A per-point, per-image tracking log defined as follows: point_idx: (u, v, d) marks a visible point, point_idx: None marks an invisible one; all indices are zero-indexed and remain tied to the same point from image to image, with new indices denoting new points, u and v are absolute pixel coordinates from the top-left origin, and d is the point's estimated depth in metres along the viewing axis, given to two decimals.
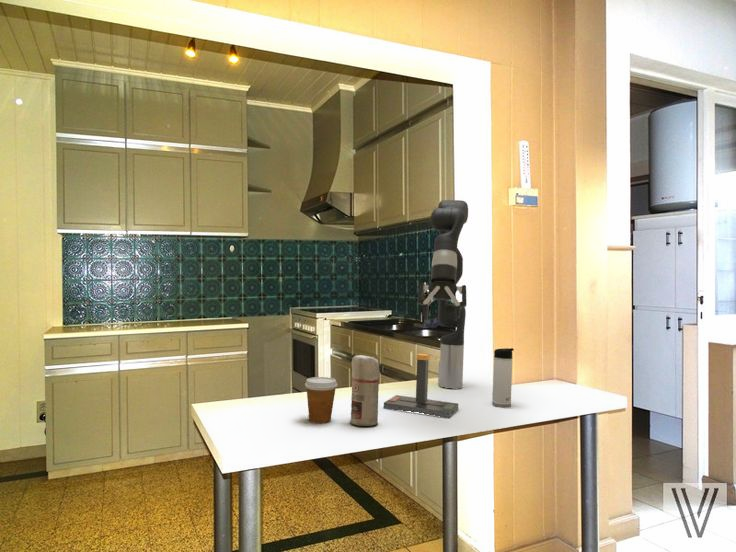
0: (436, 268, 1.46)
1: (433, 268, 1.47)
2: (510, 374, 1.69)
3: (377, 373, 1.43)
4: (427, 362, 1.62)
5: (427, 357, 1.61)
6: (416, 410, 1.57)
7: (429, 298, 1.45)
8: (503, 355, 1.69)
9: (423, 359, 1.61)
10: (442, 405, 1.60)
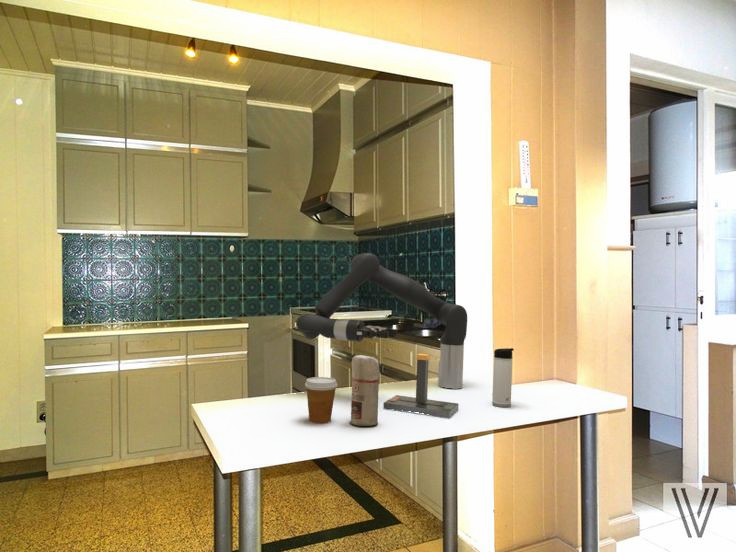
0: None
1: None
2: (510, 374, 1.69)
3: (377, 373, 1.43)
4: (427, 362, 1.62)
5: (427, 357, 1.61)
6: (416, 410, 1.57)
7: None
8: (503, 355, 1.69)
9: (423, 359, 1.61)
10: (442, 405, 1.60)
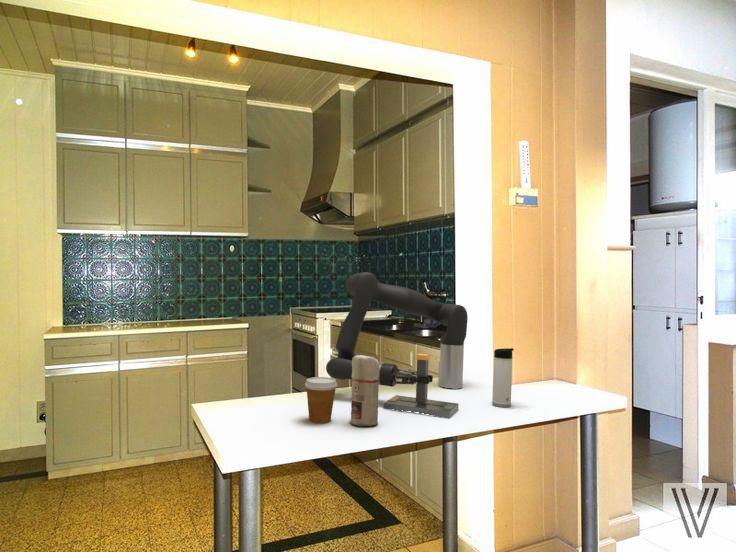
0: None
1: None
2: (510, 374, 1.69)
3: (377, 373, 1.43)
4: (427, 362, 1.62)
5: (427, 357, 1.61)
6: (416, 410, 1.57)
7: None
8: (503, 355, 1.69)
9: (423, 359, 1.61)
10: (442, 405, 1.60)
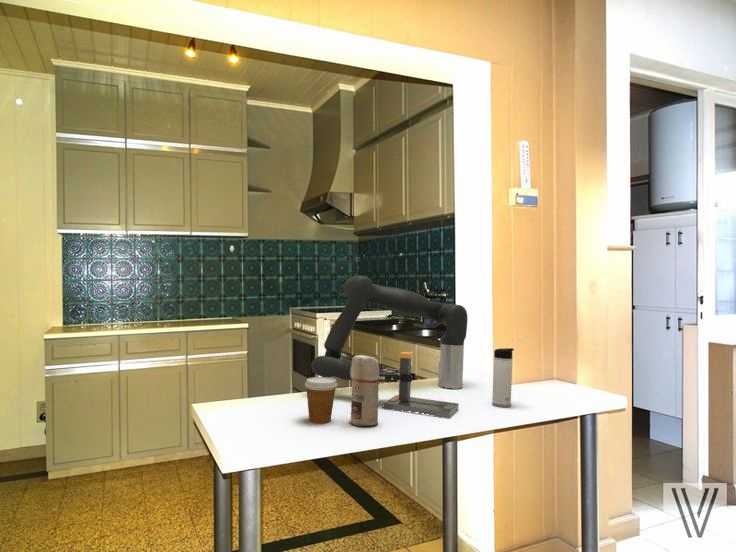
0: None
1: None
2: (510, 374, 1.69)
3: (377, 373, 1.43)
4: (410, 360, 1.65)
5: (410, 355, 1.64)
6: (416, 410, 1.57)
7: None
8: (503, 355, 1.69)
9: (406, 357, 1.63)
10: (442, 405, 1.60)
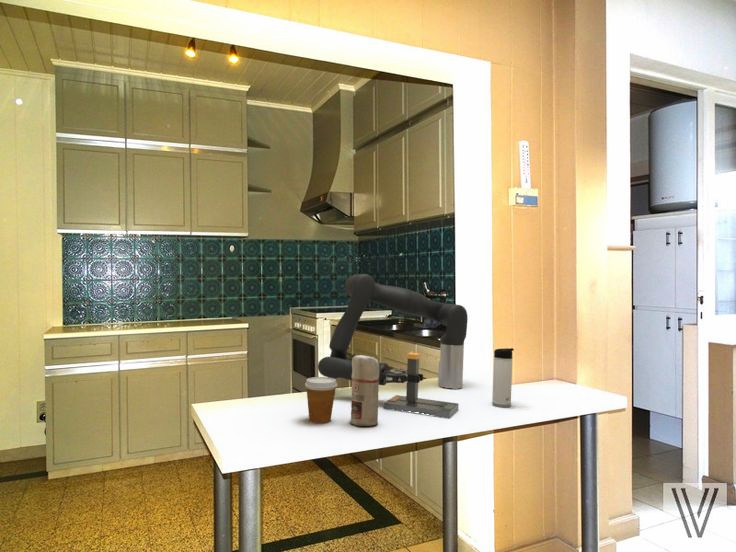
0: None
1: None
2: (510, 374, 1.69)
3: (377, 373, 1.43)
4: (417, 361, 1.64)
5: (417, 356, 1.63)
6: (416, 410, 1.57)
7: None
8: (503, 355, 1.69)
9: (413, 358, 1.62)
10: (442, 405, 1.60)
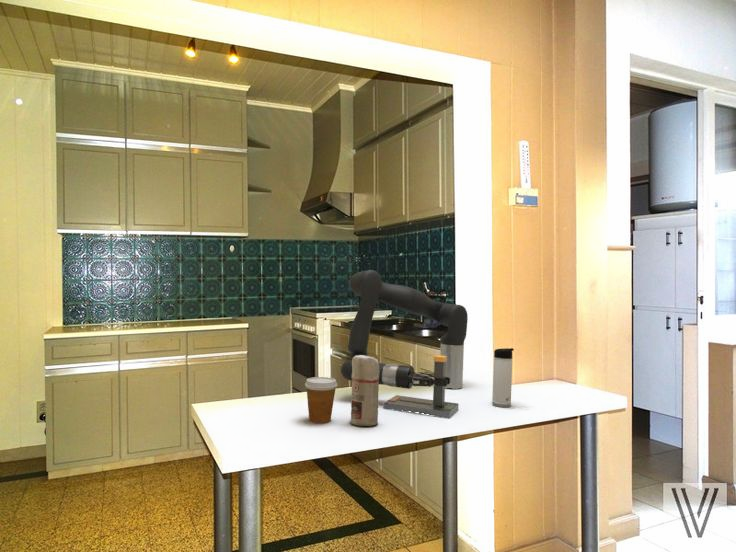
0: None
1: None
2: (510, 374, 1.69)
3: (377, 373, 1.43)
4: (444, 364, 1.60)
5: (444, 359, 1.59)
6: (416, 410, 1.57)
7: None
8: (503, 355, 1.69)
9: (440, 361, 1.58)
10: (442, 405, 1.60)
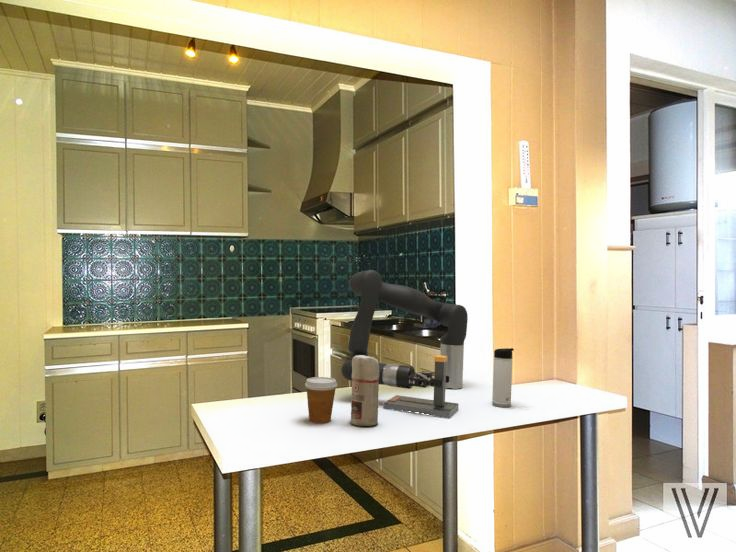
0: None
1: None
2: (510, 374, 1.69)
3: (377, 373, 1.43)
4: (445, 364, 1.60)
5: (445, 359, 1.59)
6: (416, 410, 1.57)
7: None
8: (503, 355, 1.69)
9: (441, 361, 1.58)
10: None
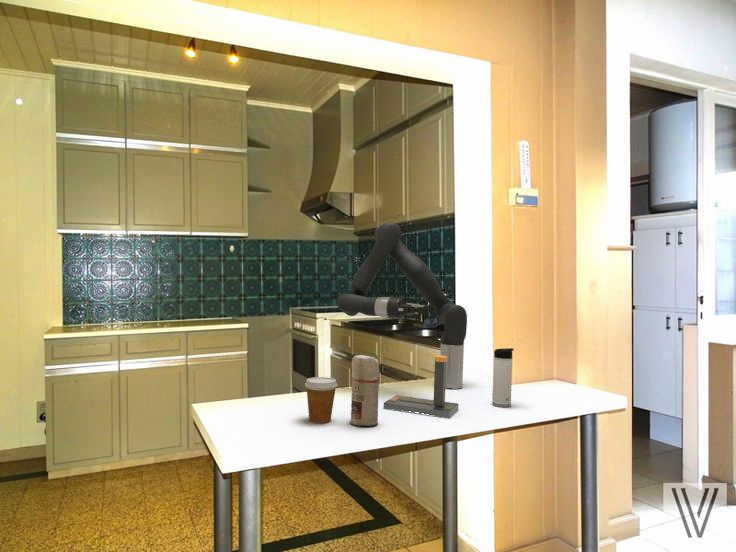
0: None
1: None
2: (510, 374, 1.69)
3: (377, 373, 1.43)
4: (445, 364, 1.60)
5: (445, 359, 1.59)
6: (416, 410, 1.57)
7: None
8: (503, 355, 1.69)
9: (441, 361, 1.58)
10: None
